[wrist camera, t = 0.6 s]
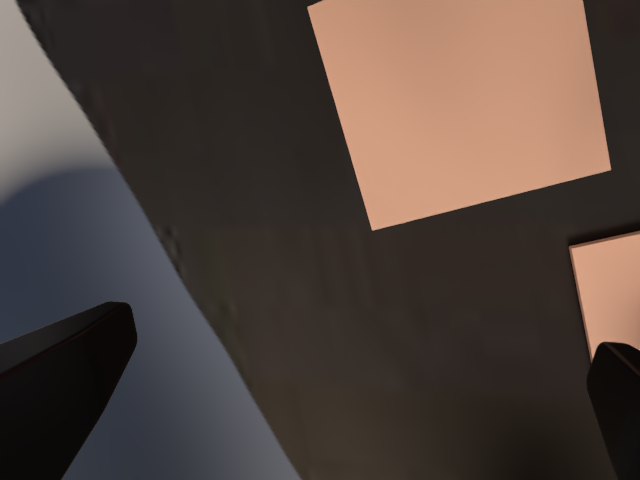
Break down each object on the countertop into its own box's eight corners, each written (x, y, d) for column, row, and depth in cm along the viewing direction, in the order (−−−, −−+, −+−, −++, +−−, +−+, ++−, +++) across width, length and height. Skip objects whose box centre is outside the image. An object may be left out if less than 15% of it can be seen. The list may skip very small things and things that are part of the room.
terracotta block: (517, 144, 20) (610, 169, 11) (390, 180, 22) (372, 230, 12) (488, 8, 19) (565, -100, 9) (356, 57, 20) (307, 7, 11)
